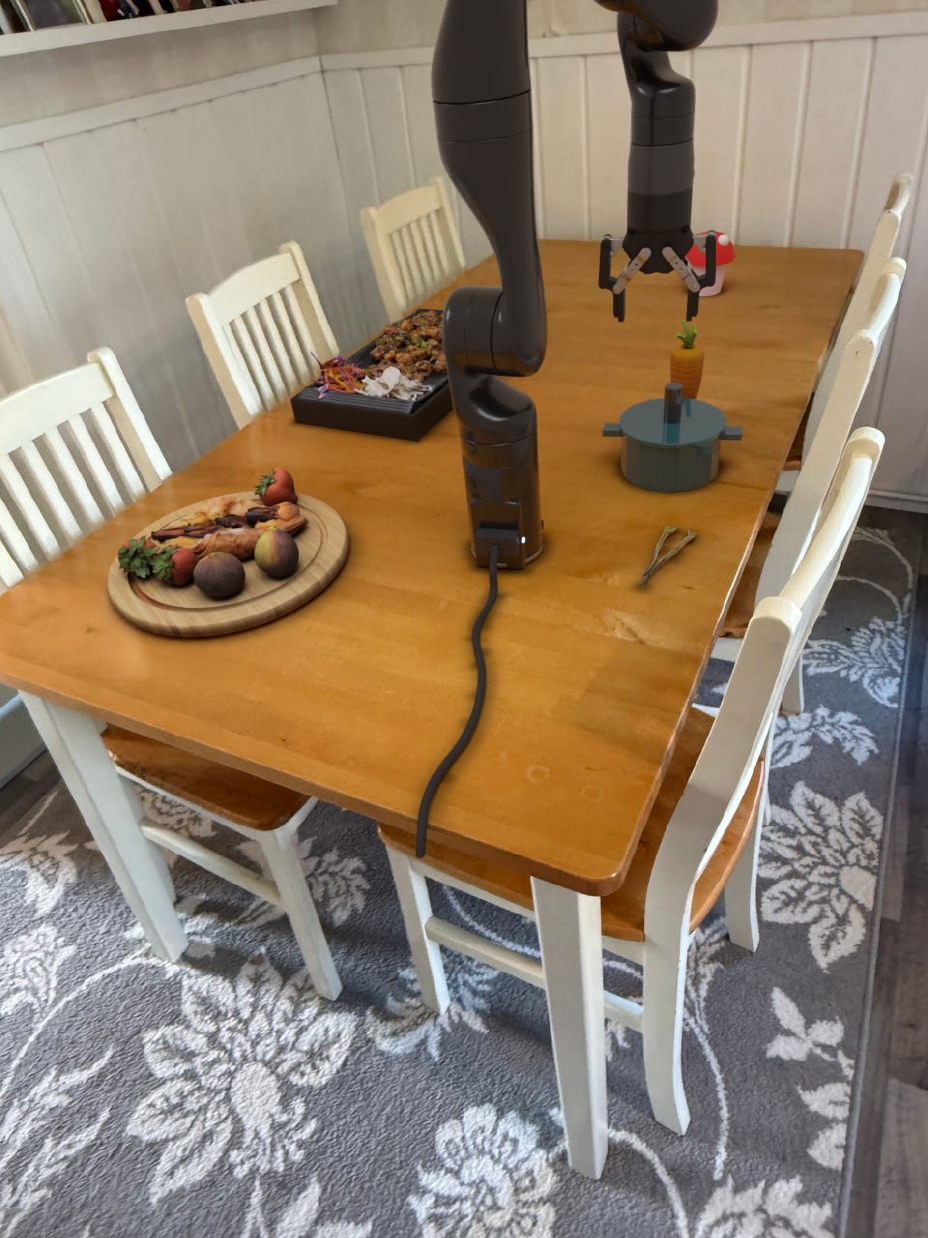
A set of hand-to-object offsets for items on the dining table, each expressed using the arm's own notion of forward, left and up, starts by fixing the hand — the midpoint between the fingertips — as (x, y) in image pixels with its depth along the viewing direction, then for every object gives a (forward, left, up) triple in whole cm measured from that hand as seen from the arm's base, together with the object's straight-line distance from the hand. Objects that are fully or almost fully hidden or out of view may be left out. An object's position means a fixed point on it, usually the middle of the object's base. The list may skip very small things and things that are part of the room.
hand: (655, 319), depth 110 cm
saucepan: (+1, -3, -22) cm, 22 cm away
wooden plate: (-30, +52, -22) cm, 64 cm away
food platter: (+31, +44, -22) cm, 59 cm away
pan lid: (+1, -3, -15) cm, 15 cm away
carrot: (+18, -4, -22) cm, 29 cm away
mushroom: (+78, -5, -22) cm, 81 cm away
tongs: (-22, -4, -22) cm, 32 cm away
